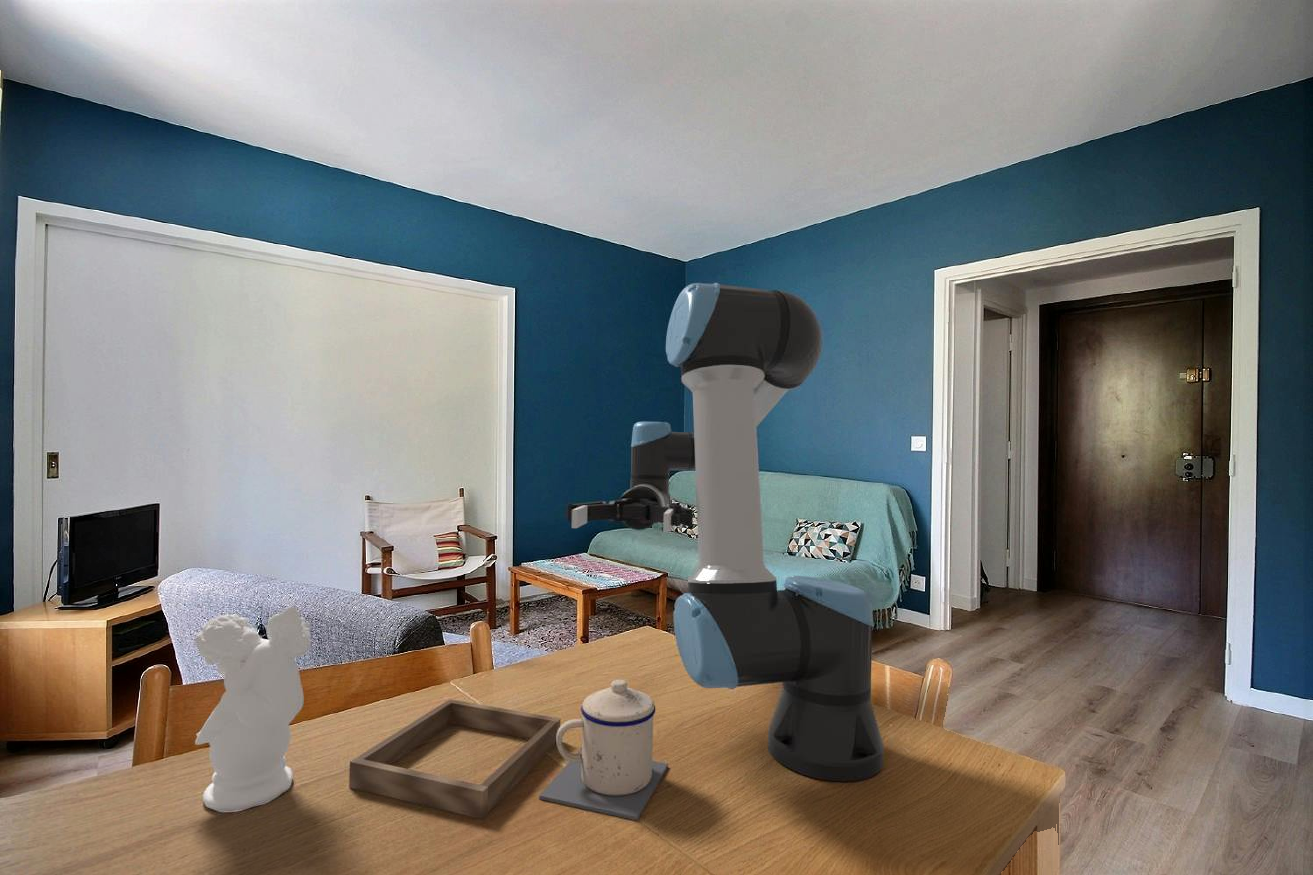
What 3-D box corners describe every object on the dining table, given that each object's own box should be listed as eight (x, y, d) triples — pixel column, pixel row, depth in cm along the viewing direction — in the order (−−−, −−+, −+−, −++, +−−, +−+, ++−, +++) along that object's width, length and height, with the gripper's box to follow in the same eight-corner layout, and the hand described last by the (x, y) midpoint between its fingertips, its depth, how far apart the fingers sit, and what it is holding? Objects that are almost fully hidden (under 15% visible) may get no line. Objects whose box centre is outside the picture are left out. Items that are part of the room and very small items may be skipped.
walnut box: (559, 740, 85) (560, 718, 85) (482, 818, 67) (482, 791, 67) (448, 719, 91) (449, 699, 91) (349, 787, 73) (349, 761, 73)
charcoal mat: (667, 766, 79) (667, 763, 79) (637, 820, 68) (637, 816, 68) (581, 750, 83) (582, 747, 83) (539, 798, 71) (539, 795, 71)
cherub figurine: (174, 805, 68) (178, 606, 69) (267, 751, 80) (270, 582, 81) (266, 821, 66) (270, 614, 66) (348, 763, 78) (351, 588, 78)
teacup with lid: (645, 755, 81) (648, 666, 81) (660, 794, 72) (663, 694, 72) (553, 763, 78) (555, 671, 79) (557, 804, 70) (560, 700, 70)
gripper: (710, 530, 109) (704, 550, 88) (573, 524, 113) (536, 542, 92) (711, 488, 109) (706, 498, 88) (574, 483, 113) (537, 492, 92)
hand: (619, 521), depth 90 cm, fingers open, 13 cm apart
